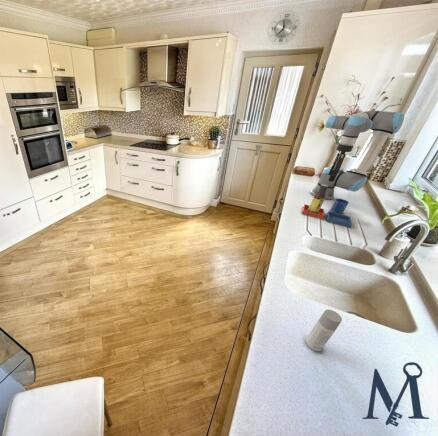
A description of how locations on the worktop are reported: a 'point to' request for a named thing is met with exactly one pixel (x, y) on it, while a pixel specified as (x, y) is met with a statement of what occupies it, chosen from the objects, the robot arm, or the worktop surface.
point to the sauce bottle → (318, 199)
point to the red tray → (318, 215)
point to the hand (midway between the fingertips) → (330, 178)
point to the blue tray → (339, 219)
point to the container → (323, 330)
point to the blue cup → (339, 206)
